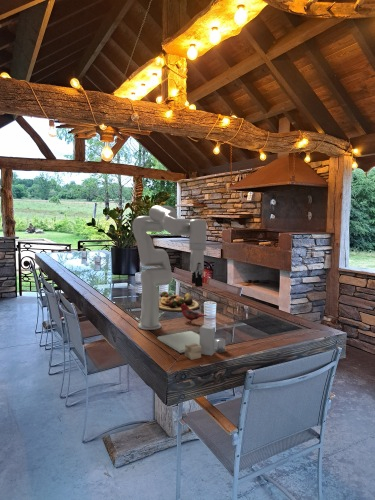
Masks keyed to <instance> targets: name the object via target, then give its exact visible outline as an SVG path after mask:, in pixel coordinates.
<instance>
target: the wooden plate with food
mask: <svg viewBox="0 0 375 500" xmlns="http://www.w3.org/2000/svg"><path fill="white" fill-rule="evenodd" d="M159 295H160V297H159V311H165V312H171V313H172V312H174V313H182V310H181V305H182V304H185V305H186V306H187V307H188V308H189V309H191V310H193V311H196V310H197V309H199V308H200V304H199V303H198V302H197V301H196V300H193V296H192V295H191V294H190V293H189V292H186V293H185V295H184V296H183V297H182V296H179V295H177V294H172V295H171V296H170V295H169V293H168V292H167V291H165V290H164V291H161V293H160V294H159Z"/></svg>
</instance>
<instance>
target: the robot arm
mask: <svg viewBox="0 0 375 500" xmlns="http://www.w3.org/2000/svg"><path fill="white" fill-rule="evenodd" d="M207 226H208V225H207V221H206V219H201V218H200V219H199V218H196V219H195V218H194V219H193V218H192V219H191V218H178V215H177V211H176V209H175V207H173V206H170V205H153V206H152V207H151V208H150V209H149V210H148V215H140V216H136V217H135V218H134V220H133V222H132V232H133V236H134V238H135V242H136V244H137V249H138V255H139V260H140V264H141V265H142V266H143V267H151V268H146V269H144V270H142V271H141V273H140V277H139V278H140V283H141V284H140V285H141V307H140V309H141V310H140V317H139V320H140V321H139V322H138V323H137V327H138V328H139V329H140V330H146V331H154V330H159V329H160V328H162V323H160V321H159V319H160V318H159V317H160V316H159V315H160V314H159V313H160V310H159V298H161V297H160V295H161V294H160V292H159V289H158V288H157V287H159V286H166V285H170V284H171V282H172V280H173V273H172V268H171V263H170V258H169V254H168V252H167V251H166V250H165V249H163V248H155V246H154V241H153V239H152V238H151V236H150V234H149V232H151V233H160V232H163V231H166V232H167V233H169V234H171V235H174V236H189V240H188V241H189V245H188V246H189V247H188V249H189V251H190V256H189V257H190V259H189V261H190V262H189V271H190V272H191V283H192V284H194V287H197V288H199V287H200V288H201V287H203V282H204V281H203V280H204V276H203V273H204V270H205V266H204V265H205V264H204V263H205V260H204V259H205V256H204V255H205V253H204V251H207ZM153 267H154V268H153Z"/></svg>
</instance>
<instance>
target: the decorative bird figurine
mask: <svg viewBox="0 0 375 500" xmlns="http://www.w3.org/2000/svg"><path fill="white" fill-rule="evenodd" d="M181 310H182V312H181V313H182V315H183V316H184V317H185V319H187V320H186V322H187V323H191V324H193V321H194V320H198V319H199V318H202V317H207V315H208V314H207V315H206V314H199V313H198V312H196V310H191V309H189V308H188V307H187V306H186V305H185V304H182V305H181Z"/></svg>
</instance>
